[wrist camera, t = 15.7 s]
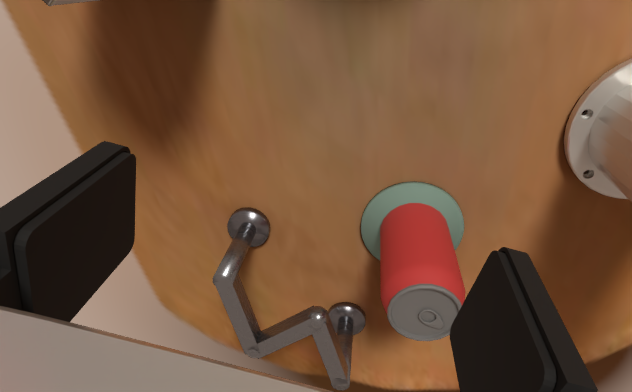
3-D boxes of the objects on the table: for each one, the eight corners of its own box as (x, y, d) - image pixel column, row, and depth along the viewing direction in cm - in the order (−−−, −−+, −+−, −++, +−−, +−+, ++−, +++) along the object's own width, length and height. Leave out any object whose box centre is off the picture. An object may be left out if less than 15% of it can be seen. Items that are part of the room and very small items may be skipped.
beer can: (411, 266, 45) (422, 359, 34) (366, 228, 43) (362, 313, 33) (462, 228, 42) (490, 317, 31) (415, 186, 40) (427, 265, 30)
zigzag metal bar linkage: (394, 246, 44) (398, 309, 36) (359, 334, 51) (355, 405, 43) (232, 202, 45) (199, 257, 36) (218, 296, 51) (187, 360, 43)
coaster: (479, 197, 41) (480, 200, 40) (440, 276, 46) (441, 279, 45) (377, 169, 41) (377, 172, 40) (350, 252, 46) (349, 255, 45)
